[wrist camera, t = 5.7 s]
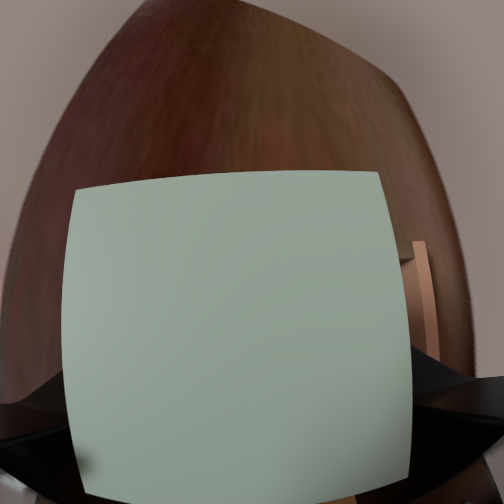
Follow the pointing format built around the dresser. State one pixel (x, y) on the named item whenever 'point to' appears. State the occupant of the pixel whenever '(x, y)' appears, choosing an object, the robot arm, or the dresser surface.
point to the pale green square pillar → (236, 339)
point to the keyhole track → (419, 297)
